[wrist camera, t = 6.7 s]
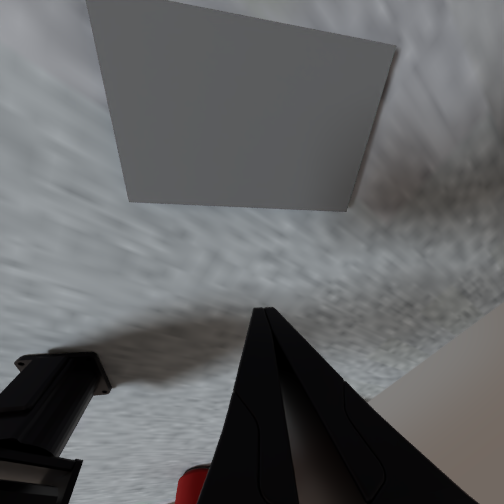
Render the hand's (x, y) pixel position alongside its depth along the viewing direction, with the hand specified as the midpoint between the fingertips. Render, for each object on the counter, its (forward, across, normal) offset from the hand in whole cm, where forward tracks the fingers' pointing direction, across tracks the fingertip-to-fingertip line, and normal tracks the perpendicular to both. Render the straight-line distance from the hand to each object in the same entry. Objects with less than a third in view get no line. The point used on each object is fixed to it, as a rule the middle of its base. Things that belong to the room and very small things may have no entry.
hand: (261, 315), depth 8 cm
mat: (+8, 0, -7) cm, 11 cm away
